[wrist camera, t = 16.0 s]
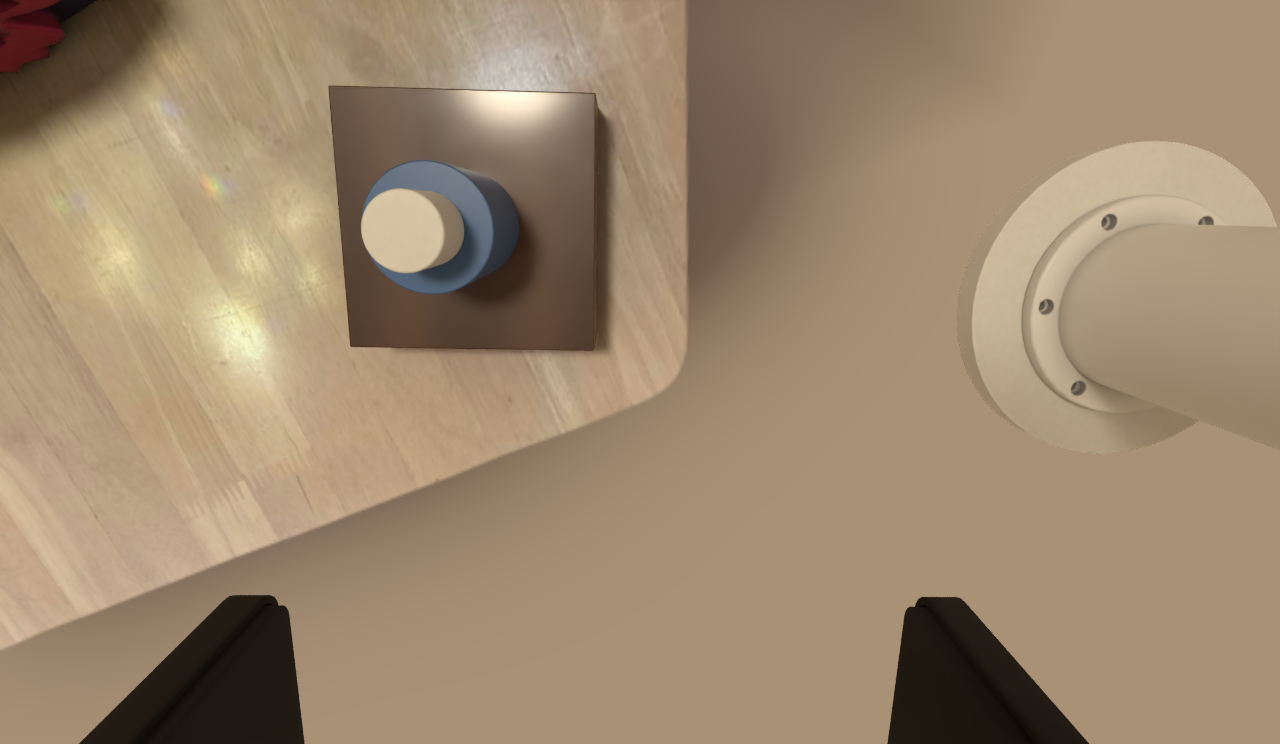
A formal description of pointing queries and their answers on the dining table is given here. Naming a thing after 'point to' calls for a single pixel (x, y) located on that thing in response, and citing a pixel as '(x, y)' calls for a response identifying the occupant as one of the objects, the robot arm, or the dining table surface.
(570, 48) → the dining table surface
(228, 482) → the dining table surface
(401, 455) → the dining table surface
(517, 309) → the block
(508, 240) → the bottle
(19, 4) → the decorative cube
